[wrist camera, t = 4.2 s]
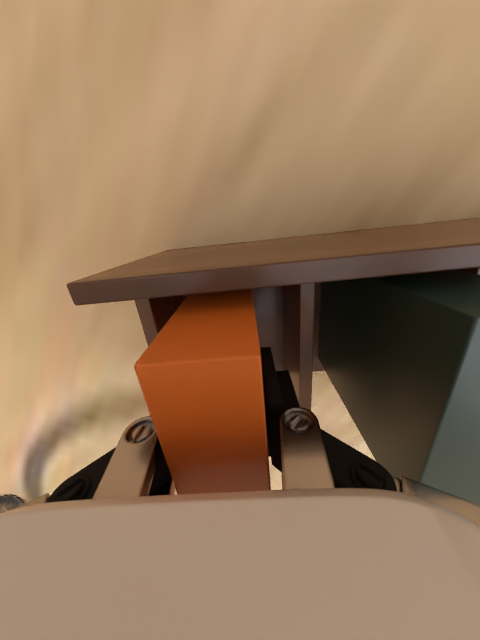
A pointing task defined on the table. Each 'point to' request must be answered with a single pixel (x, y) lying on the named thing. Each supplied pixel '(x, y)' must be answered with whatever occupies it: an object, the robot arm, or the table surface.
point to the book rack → (283, 280)
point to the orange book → (209, 394)
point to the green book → (410, 372)
